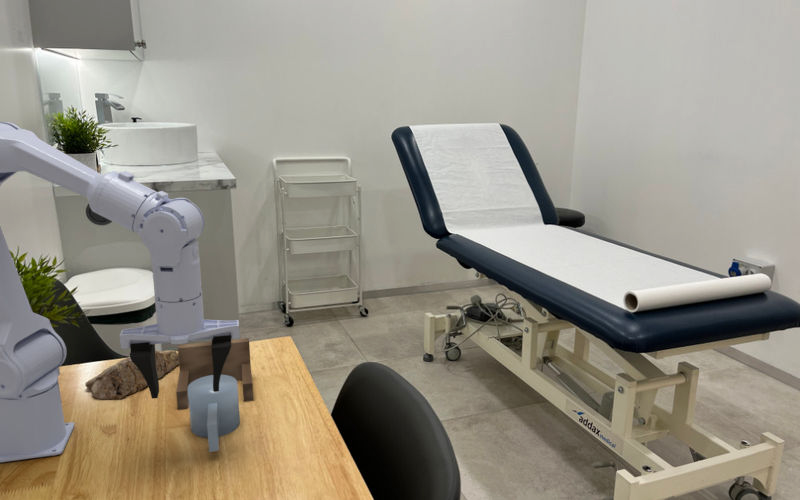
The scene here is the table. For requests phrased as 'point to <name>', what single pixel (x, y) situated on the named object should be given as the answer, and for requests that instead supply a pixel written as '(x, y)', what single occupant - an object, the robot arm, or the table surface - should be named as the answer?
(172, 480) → the table surface
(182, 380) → the caddy
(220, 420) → the finned dome knob
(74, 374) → the table surface
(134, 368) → the rock
